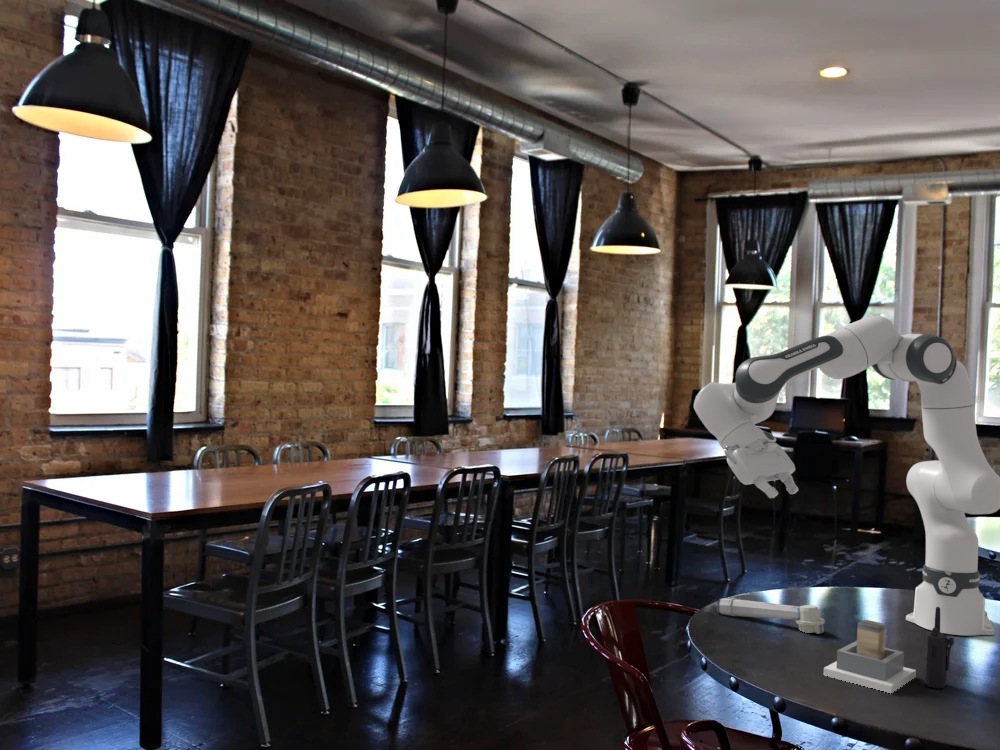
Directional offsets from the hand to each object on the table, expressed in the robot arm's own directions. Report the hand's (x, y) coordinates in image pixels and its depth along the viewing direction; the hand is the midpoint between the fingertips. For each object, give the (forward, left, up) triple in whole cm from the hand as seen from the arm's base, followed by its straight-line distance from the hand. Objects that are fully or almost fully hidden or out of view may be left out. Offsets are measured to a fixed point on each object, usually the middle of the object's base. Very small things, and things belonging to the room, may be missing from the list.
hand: (785, 494), depth 190 cm
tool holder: (+6, +19, -33) cm, 39 cm away
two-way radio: (+3, +31, -34) cm, 46 cm away
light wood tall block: (+6, +19, -32) cm, 38 cm away
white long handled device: (-18, -8, -34) cm, 39 cm away
